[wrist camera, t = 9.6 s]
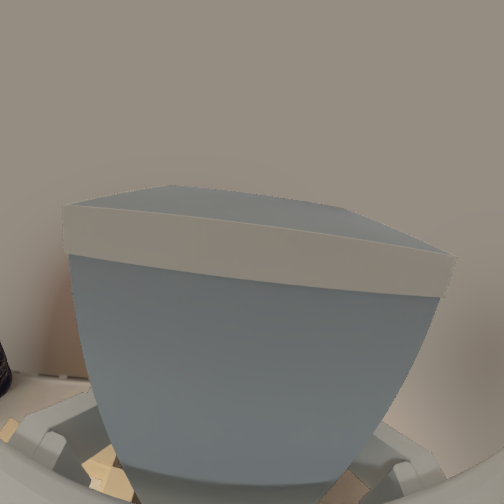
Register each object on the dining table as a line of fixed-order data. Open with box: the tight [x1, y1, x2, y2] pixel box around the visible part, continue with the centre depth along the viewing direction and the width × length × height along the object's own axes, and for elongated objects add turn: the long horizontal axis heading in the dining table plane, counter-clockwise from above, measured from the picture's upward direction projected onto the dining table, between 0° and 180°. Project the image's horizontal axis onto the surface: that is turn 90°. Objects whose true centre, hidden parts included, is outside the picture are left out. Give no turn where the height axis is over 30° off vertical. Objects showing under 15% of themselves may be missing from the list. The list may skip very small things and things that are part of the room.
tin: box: [62, 185, 457, 504], centre depth 7 cm, size 5×5×14 cm
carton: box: [0, 418, 134, 502], centre depth 11 cm, size 15×15×4 cm
